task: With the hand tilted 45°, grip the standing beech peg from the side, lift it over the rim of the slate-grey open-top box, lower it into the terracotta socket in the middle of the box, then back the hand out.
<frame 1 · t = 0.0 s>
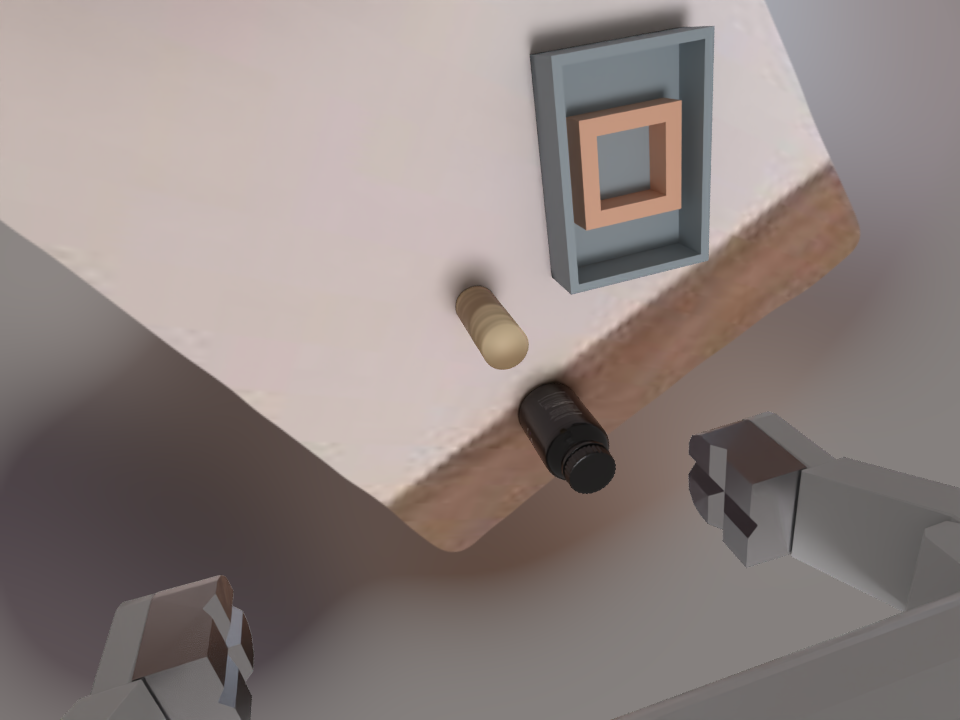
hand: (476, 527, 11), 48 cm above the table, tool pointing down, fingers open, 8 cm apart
beech peg: (475, 305, 62), on the table
open-top box: (612, 159, 59), on the table
supplement bottle: (546, 408, 70), on the table
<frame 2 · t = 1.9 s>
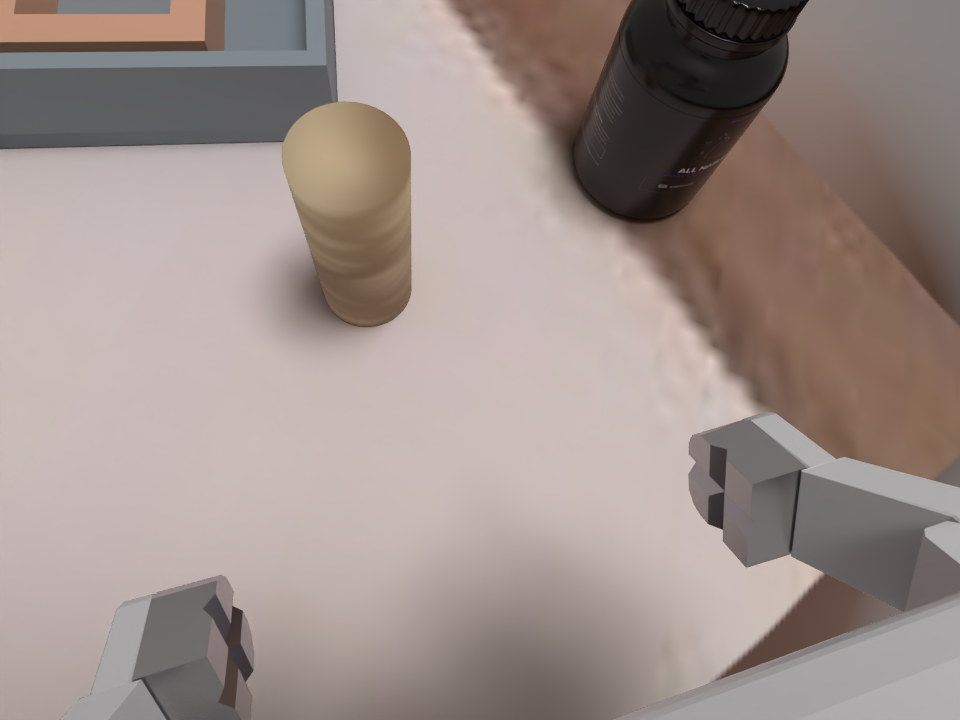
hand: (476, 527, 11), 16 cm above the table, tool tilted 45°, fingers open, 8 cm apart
beech peg: (367, 286, 30), on the table
open-top box: (134, 28, 33), on the table
supplement bottle: (634, 167, 33), on the table
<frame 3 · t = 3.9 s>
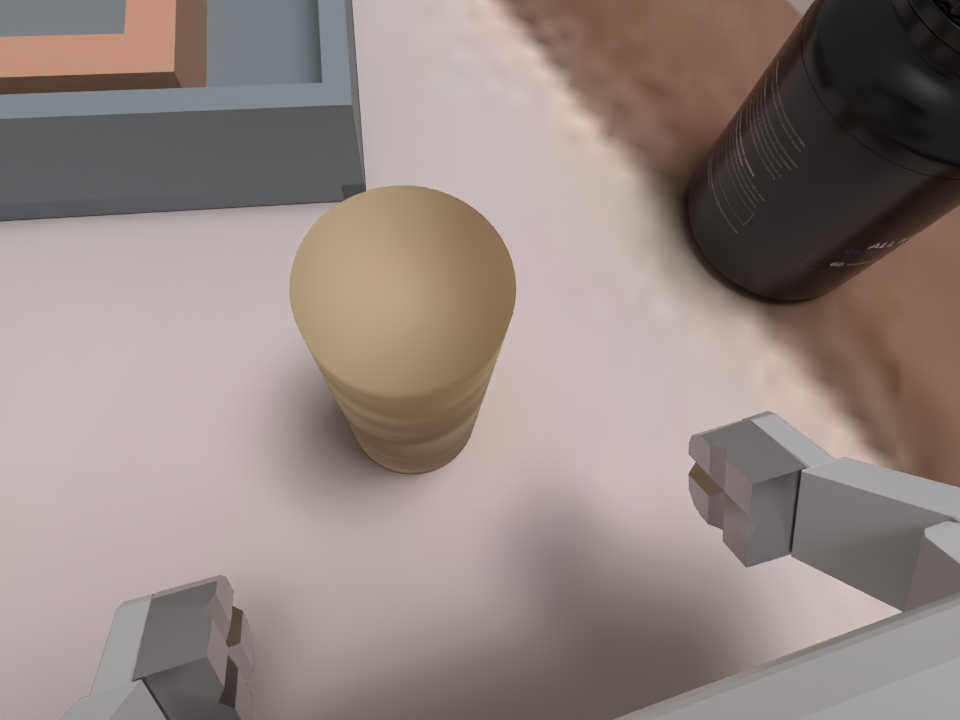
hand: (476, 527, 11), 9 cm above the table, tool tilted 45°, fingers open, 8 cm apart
beech peg: (413, 412, 21), on the table
open-top box: (85, 52, 24), on the table
supplement bottle: (767, 225, 24), on the table
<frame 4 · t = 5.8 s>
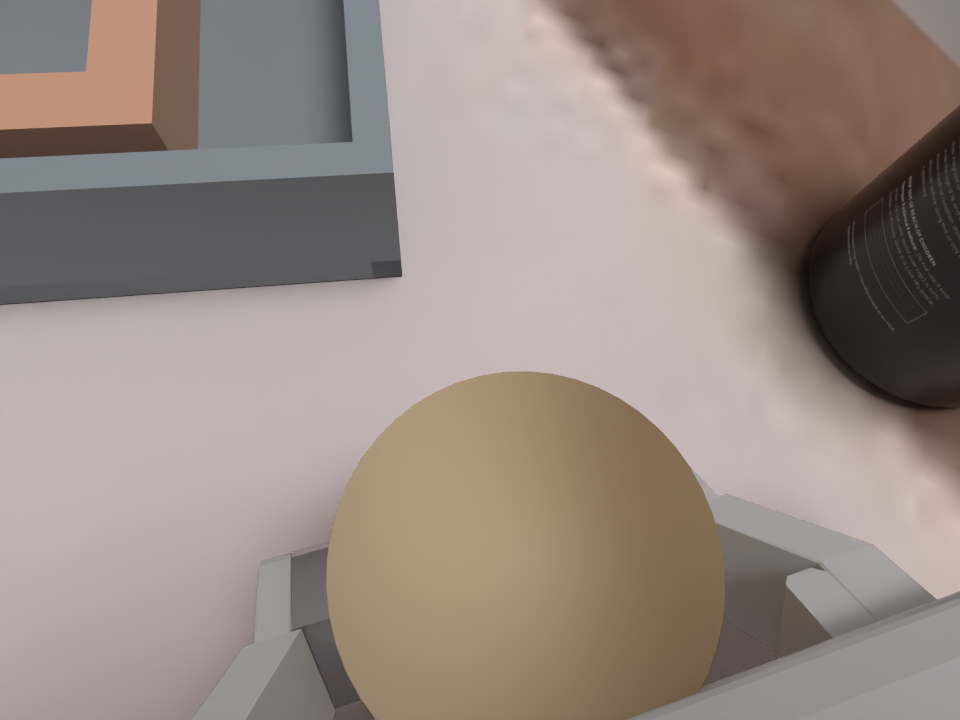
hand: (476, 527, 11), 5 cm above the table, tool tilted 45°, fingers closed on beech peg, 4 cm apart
beech peg: (468, 566, 16), on the table, touching gripper
open-top box: (47, 86, 19), on the table
supplement bottle: (904, 304, 19), on the table
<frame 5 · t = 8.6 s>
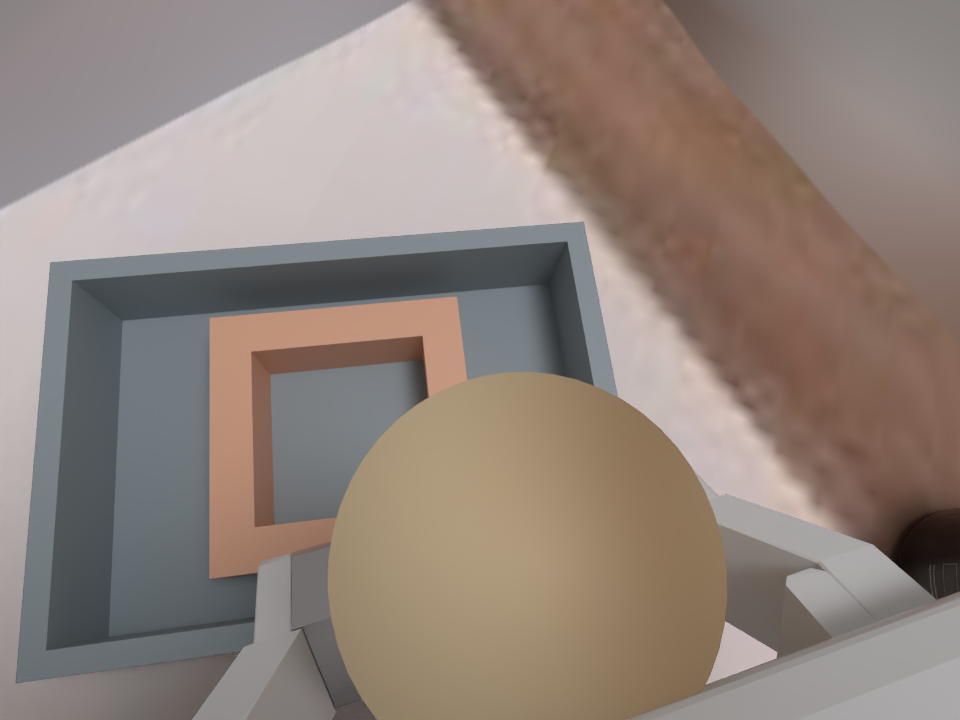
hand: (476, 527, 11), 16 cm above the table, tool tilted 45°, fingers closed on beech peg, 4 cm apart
beech peg: (468, 566, 16), point 11 cm above the table, touching gripper
open-top box: (355, 445, 27), on the table
when the fingers open (8 cm above the table, at t = 11.6 s): beech peg drops 1 cm, resting on open-top box.
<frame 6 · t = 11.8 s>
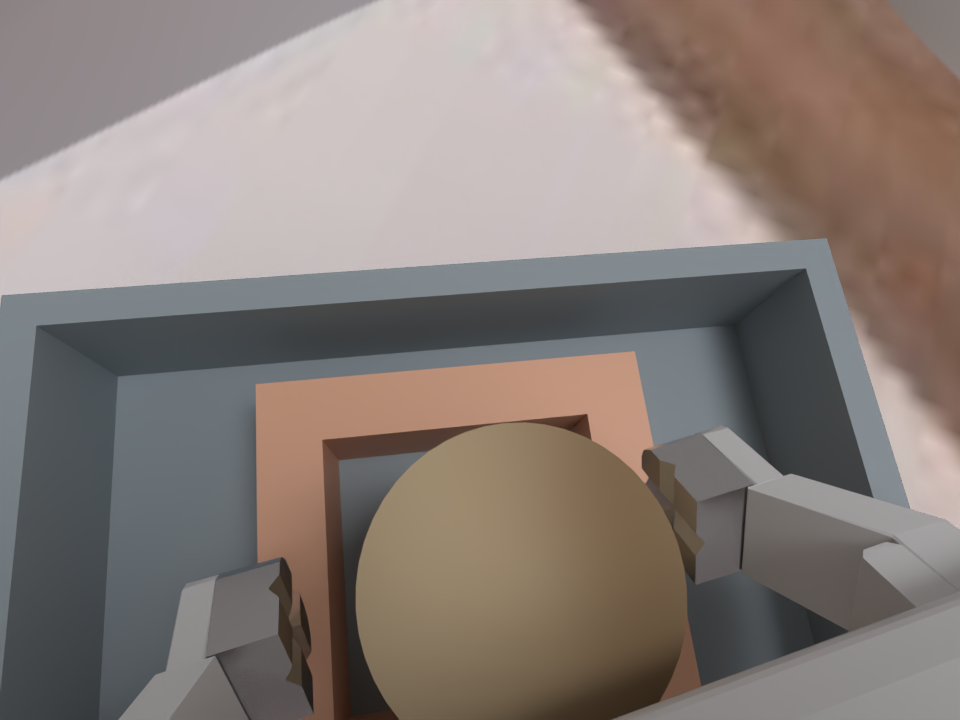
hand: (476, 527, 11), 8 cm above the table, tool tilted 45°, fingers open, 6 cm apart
beech peg: (463, 565, 17), point 1 cm above the table, touching open-top box
open-top box: (463, 566, 18), on the table
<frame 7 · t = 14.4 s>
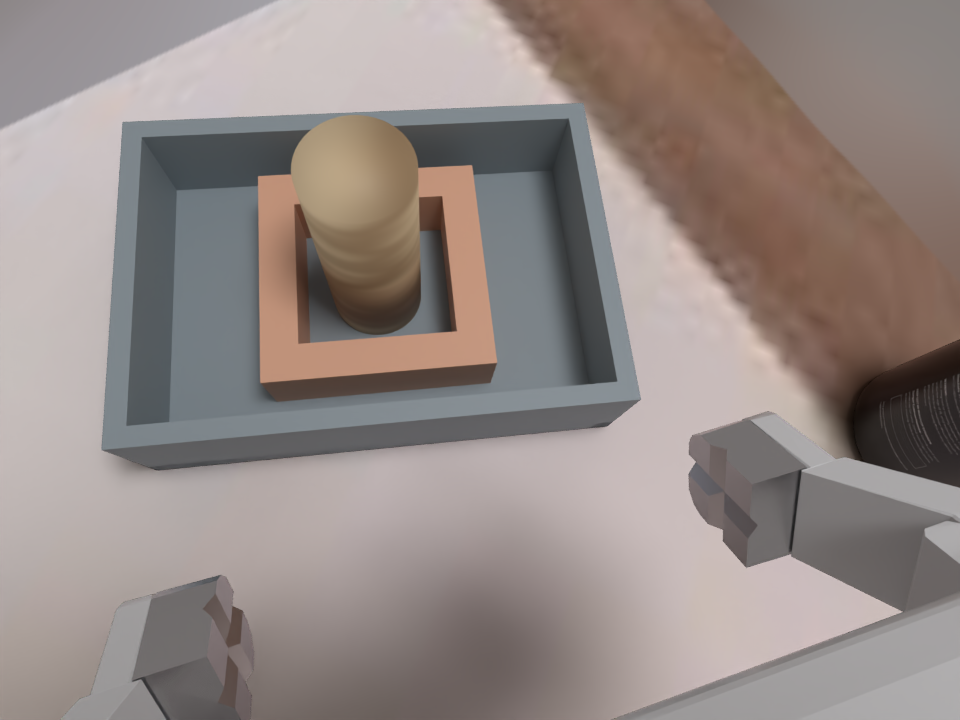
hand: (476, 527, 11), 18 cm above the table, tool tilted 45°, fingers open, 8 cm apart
beech peg: (378, 294, 30), point 1 cm above the table, touching open-top box
open-top box: (380, 303, 31), on the table
supplement bottle: (912, 438, 31), on the table
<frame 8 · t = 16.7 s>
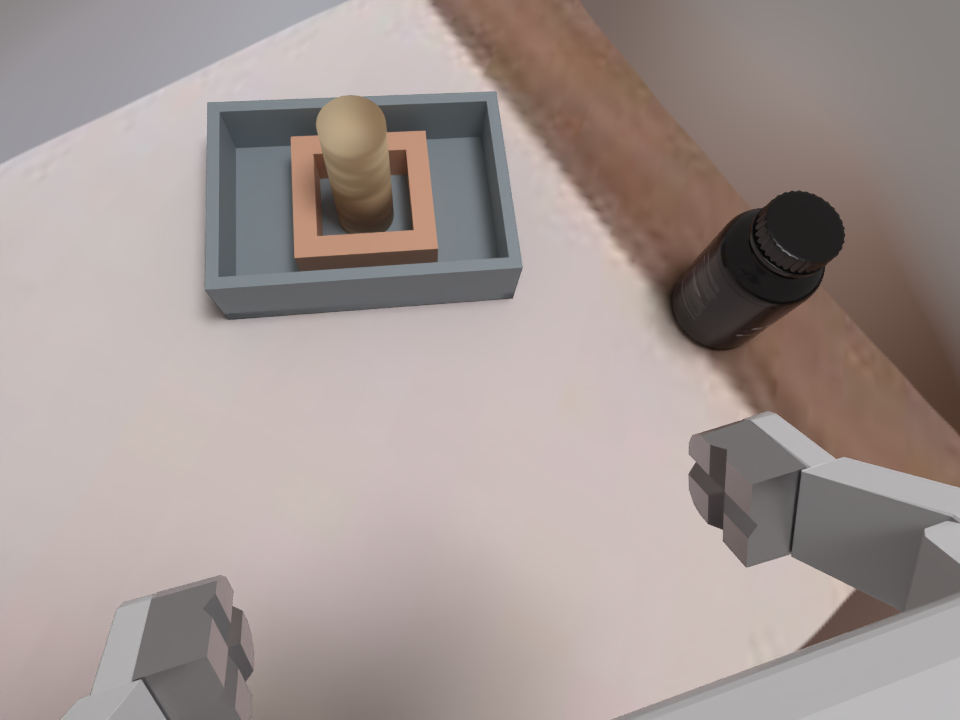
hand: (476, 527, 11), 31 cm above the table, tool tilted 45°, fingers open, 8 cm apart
beech peg: (366, 214, 47), point 1 cm above the table, touching open-top box
open-top box: (367, 221, 48), on the table
supplement bottle: (713, 309, 48), on the table
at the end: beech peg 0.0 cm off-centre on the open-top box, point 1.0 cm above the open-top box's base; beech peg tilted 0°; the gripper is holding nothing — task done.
